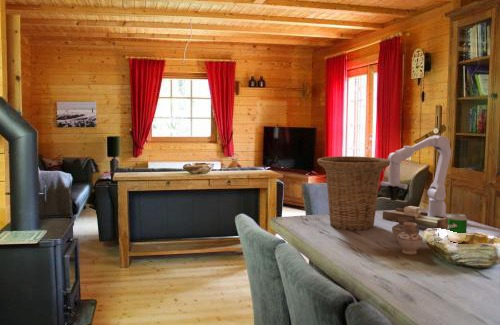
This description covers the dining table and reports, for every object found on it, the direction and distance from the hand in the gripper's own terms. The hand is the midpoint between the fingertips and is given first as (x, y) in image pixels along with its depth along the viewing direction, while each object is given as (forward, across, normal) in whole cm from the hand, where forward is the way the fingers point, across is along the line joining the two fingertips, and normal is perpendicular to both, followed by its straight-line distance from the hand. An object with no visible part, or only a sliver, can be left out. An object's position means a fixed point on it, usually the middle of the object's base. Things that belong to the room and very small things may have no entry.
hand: (393, 200), depth 255 cm
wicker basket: (+10, -4, -32) cm, 34 cm away
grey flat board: (+9, +22, 0) cm, 24 cm away
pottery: (+10, +35, -48) cm, 60 cm away
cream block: (+7, +11, 0) cm, 13 cm away
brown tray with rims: (+9, +14, 0) cm, 17 cm away
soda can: (+10, +45, -24) cm, 52 cm away
